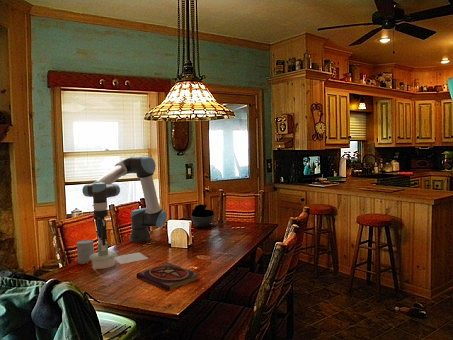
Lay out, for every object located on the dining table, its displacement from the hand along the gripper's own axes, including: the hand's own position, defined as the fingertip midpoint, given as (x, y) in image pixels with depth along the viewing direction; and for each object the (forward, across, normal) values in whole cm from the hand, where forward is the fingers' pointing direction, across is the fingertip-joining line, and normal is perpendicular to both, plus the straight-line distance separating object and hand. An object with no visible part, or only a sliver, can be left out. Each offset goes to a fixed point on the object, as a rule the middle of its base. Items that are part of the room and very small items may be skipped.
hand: (102, 249), depth 213 cm
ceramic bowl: (+10, 0, 0) cm, 10 cm away
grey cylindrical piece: (+10, -18, -6) cm, 22 cm away
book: (+11, +41, +23) cm, 48 cm away
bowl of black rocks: (+10, -56, +97) cm, 112 cm away
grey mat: (+10, -4, +17) cm, 20 cm away
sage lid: (+4, 0, 0) cm, 4 cm away
